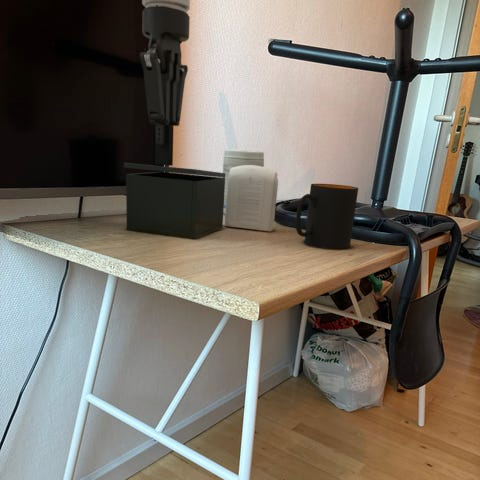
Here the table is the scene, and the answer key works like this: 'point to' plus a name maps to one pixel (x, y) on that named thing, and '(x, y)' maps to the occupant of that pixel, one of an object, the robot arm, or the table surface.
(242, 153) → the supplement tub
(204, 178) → the bin
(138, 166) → the bin lid
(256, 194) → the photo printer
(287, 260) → the table surface
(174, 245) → the table surface
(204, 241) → the table surface
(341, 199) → the mug
